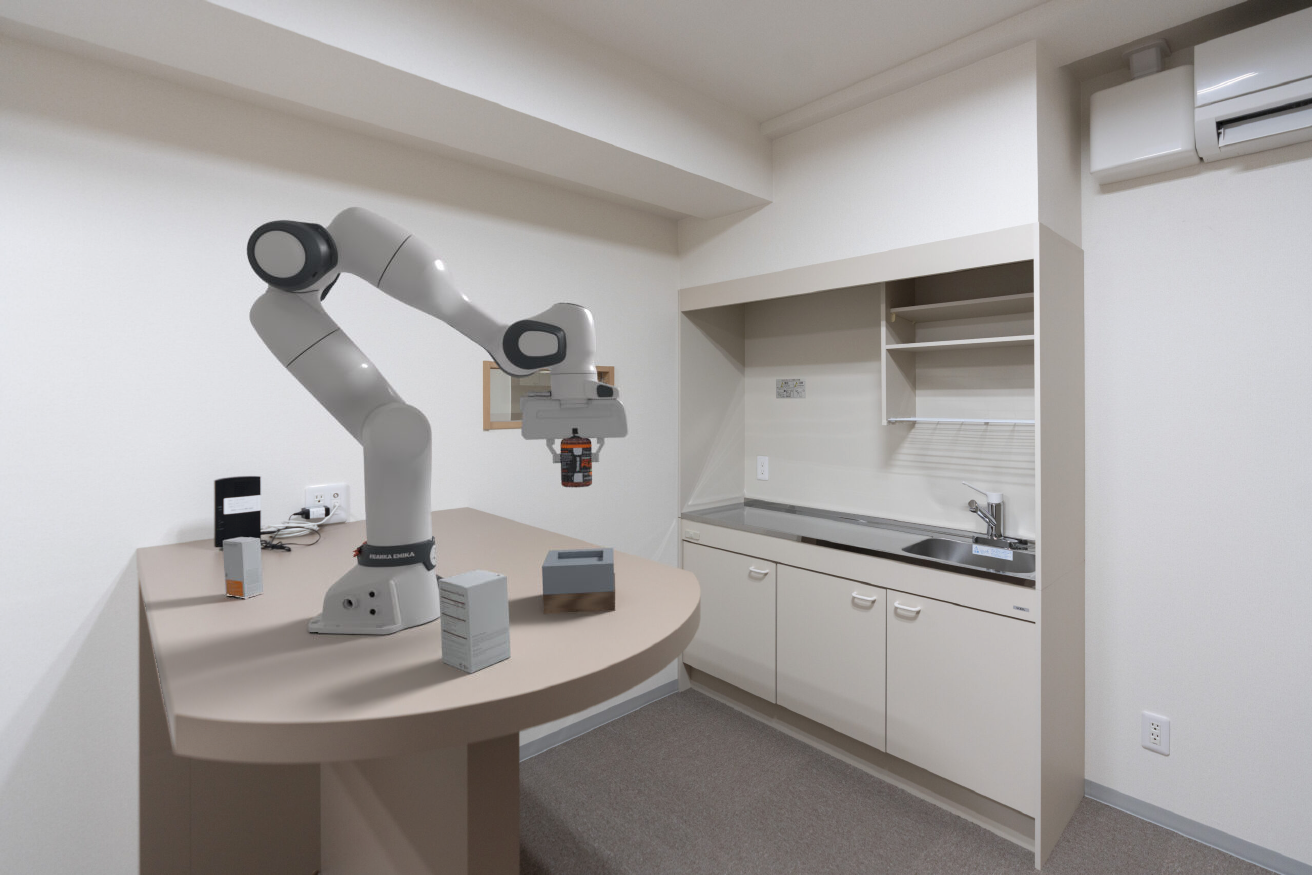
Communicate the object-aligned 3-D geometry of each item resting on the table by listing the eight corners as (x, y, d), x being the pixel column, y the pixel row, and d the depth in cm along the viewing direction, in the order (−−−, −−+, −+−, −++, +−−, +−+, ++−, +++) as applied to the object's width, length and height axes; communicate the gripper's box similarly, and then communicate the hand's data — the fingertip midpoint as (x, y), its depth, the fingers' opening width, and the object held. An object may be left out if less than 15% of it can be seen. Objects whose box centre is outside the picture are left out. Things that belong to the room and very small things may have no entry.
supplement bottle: (586, 488, 116) (585, 427, 116) (556, 488, 118) (554, 428, 117) (596, 484, 122) (595, 426, 122) (567, 484, 123) (566, 426, 123)
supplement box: (482, 646, 99) (479, 567, 98) (512, 657, 94) (508, 574, 93) (440, 662, 93) (436, 578, 92) (469, 674, 88) (465, 586, 88)
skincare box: (224, 597, 130) (221, 540, 129) (245, 591, 134) (241, 536, 133) (244, 599, 128) (241, 542, 127) (264, 593, 132) (261, 537, 131)
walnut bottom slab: (543, 616, 114) (543, 594, 114) (551, 595, 127) (550, 575, 127) (615, 613, 115) (614, 591, 114) (615, 592, 128) (614, 572, 127)
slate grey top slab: (542, 594, 114) (541, 566, 113) (549, 575, 127) (549, 550, 126) (614, 591, 115) (613, 563, 114) (614, 572, 128) (613, 547, 127)
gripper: (516, 390, 115) (518, 465, 116) (627, 388, 116) (629, 462, 117) (521, 391, 122) (524, 462, 122) (627, 389, 123) (628, 459, 123)
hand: (576, 462), depth 120 cm, fingers closed on supplement bottle, 6 cm apart
